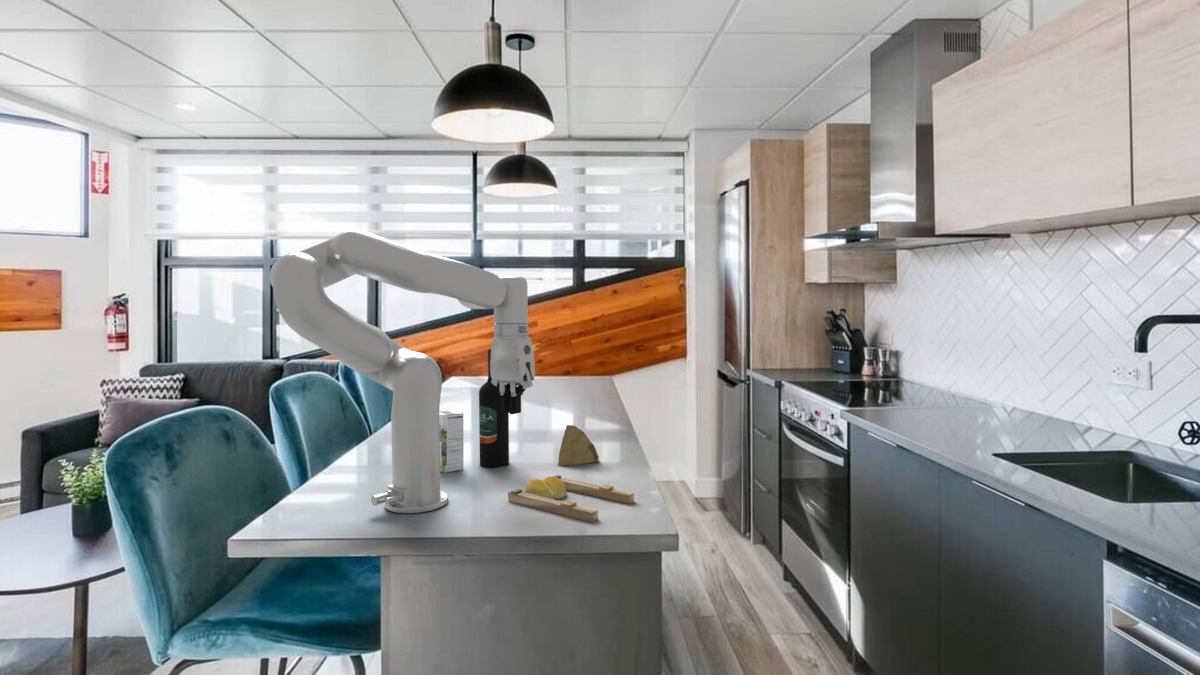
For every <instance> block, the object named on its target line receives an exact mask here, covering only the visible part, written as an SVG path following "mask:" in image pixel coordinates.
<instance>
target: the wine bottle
mask: <svg viewBox="0 0 1200 675" xmlns="http://www.w3.org/2000/svg"><path fill="white" fill-rule="evenodd" d="M490 358H491V348H489V349H487V374H488V376H487V380H486V381H485V383H483V384H482V385H481V387H480V388H479V390H478V419H479V420H478V425H479V429H478V431H479V432H478V433H479V437H478V438H479V466H480V467H481V466H482V468H485V467H486V468H487V469H498V468H503V467H507V466H509V464H510V432H509V431H510V430H509V429H510V427H509V426H510V425H509V424H510V422H509V419H510V416H509V414H510V413H503V412H502V396H503V395H500V390H499V389H498V387H497V386H495V385H493V384H492V383H491V380H492V378H491V373H490Z"/></svg>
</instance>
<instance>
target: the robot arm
mask: <svg viewBox="0 0 1200 675" xmlns="http://www.w3.org/2000/svg"><path fill="white" fill-rule="evenodd" d="M355 275H358V276H361V277H364V278H368V279H371V280H375V281H378V282H381V283H383V284H388V285H391V286H393V287H396V288H400V289H403V290H405V291H406V290H407V291H411V292H414V293H415V292H416V293H421V294H432V295H439V296H444V297H448V298H452V299H456V300H457V301H458V303H459V304H460V305H462V306H463V307H465V308H468V309H471V310H492V309H493V338H492V342H491V348H490V349H491V358H490V373H491V378H492V380H491V383H492V384H493V385H495V386H497V387H498V389H499V390H500V395H503V396H502V412H503V413H509V414H510V415H517V414H520V413H522V396H523V395H524V392H525V391H526V390H527V389H530V388H532V387H533V381H534V380H535V377H536V370H535V369H536V367H535V366H536V365H535V356H534V347H533V342H532V339H531V337H529V333H530V332H531V328H530V326H529V324H528V322H529V321H528V320H529V319H528V318H529V317H528V316H529V315H528V312H529V311H528V303H529V302H528V298H529V295H528V293H529V292H528V291H529V290H528V287H529V286H528V281H527V279H526V278H525V277H524V276H518V275H516V276H515V275H502V276H498V275H497V274H496V273H493V272H491V271H489V270H485V269H484V268H483V269H482V268H480V267H477V266H474V265H471V264H468V263H464V262H463V261H458V260H455V259H450V258H448V257H443V256H440V255H436V254H435V253H430V252H426V251H423V250H420V249H417V248H414V247H411V246H408V245H405V244H402V243H399V242H396V241H394V240H390V239H388V238H385V237H384V236H383V237H382V236H380V235H376V234H374V233H372V232H368V231H366V230H361V229H355V228H354V229H347V230H344V231H341V233H339V234H338V235H335V236H333V237H331V238H330V239H327V240H325V241H323V242H321V243H317V244H316V245H313V246H310V247H307V248H305V249H303V250H300V251H297V252H296V251H295V252H291V253H286V254H284V255H282V256H281V257H280V258H278V259H277V260H276V262H274V263H273V265H272V266H271V268H270V270H269V281H270V282H269V283H270V285H271V287H272V288H273V297H274V302H275V305H276V308H277V310H278V313H279V314H280V316H281V318H282V320H283V321H284V322H285V324H286V325H288V327H289V328H290V329H291V330H293V332H294V333H296V334H297V335H299V336H300V337H302V338H303V339H305V340H307V341H308V342H310V343H312V344H313V345H315V346H317V347H318V348H320V349H322V350H323V351H325V352H327V353H328V354H330V355H333V356H334V357H336V358H338V360H339V361H340V362H341V363H342V364H343V365H344V366H346V367H347V368H349V369H351V370H353V371H354V372H356V373H358V374H360V375H362V376H363V377H366V378H367V379H369V380H372V381H373V382H375V383H376V384H378V385H380V386H383V387H384V388H386V389H389V390H390V391H392V401H391V402H392V404H391V413H390V414H391V415H390V417H391V418H390V429H391V430H390V432H391V464H392V466H391V470H392V471H391V472H392V476H391V477H392V484H389V485H387V490H385V492H384V493H378V494H374V495H372V496H371V497H370V503H371V504H372V506H377V505H381V504H384V507H385V509H386V510H387V511H390V512H393V513H398V514H419V513H425V512H431V511H435V510H436V509H437V510H438V509H440V508H441V507H444V506H445V505H447V504H448V502H449V495H448V493H446V492H444V491H443V490H441V471H440V428H439V411H440V406H441V404H440V403H441V394H442V386H443V376H442V371H441V368H440V366H439V365H438V363H437V361H436V360H435V359H434V358H433V357H431V356H430V355H429V354H426V353H423V352H419V351H415V350H414V351H413V350H411V349H409V348H407V347H406V346H403V345H402V344H400V343H398V342H397V341H395V340H393V339H392V338H390V337H389V335H388V334H387V333H386V332H385V331H383V330H382V329H381V328H380V327H377V326H375V325H373V324H370V323H368V322H366V321H365V320H363V319H362V318H359V317H358V316H356V315H354V314H352V313H350V312H349V311H347V310H346V309H345V308H343V307H341V306H339V304H337V303H335V302H334V301H333V300H332V299H331V298H330V297H329V296H328V295H327V293H326V291H325V288H328V287H330V286H332V285H335V284H337V283H339V282H341V281H344V280H346V279H348V278H350V277H352V276H355Z"/></svg>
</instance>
